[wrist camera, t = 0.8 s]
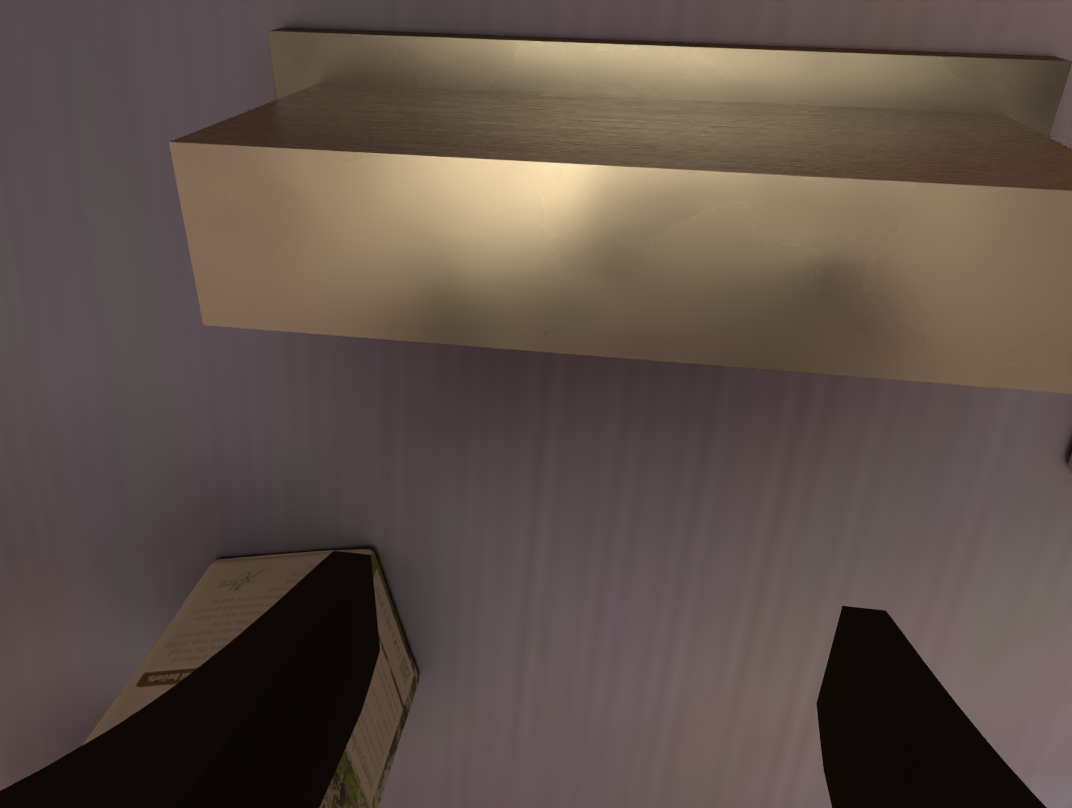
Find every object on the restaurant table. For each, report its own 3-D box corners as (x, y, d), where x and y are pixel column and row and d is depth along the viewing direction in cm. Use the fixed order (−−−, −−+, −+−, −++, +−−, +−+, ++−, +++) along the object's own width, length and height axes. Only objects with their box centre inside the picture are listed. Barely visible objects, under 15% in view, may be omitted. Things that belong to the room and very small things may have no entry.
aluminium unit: (1055, 56, 16) (1282, 121, 10) (983, 293, 19) (1133, 457, 13) (283, 27, 18) (90, 68, 12) (308, 248, 21) (158, 372, 15)
